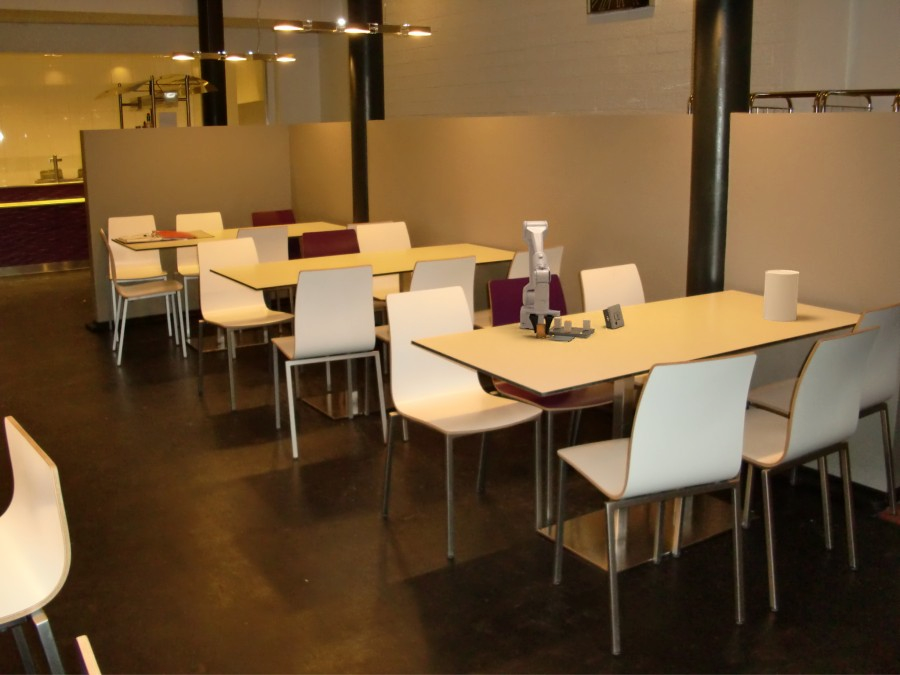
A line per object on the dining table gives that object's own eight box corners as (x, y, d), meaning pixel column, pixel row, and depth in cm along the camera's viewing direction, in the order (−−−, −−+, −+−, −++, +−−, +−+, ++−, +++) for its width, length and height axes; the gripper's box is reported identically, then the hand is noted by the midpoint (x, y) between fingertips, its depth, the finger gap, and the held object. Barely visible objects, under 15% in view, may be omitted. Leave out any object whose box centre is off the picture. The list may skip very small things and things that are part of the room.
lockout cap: (535, 337, 361) (535, 325, 360) (537, 335, 365) (537, 323, 363) (545, 338, 360) (545, 325, 359) (547, 335, 364) (547, 323, 363)
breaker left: (554, 327, 371) (554, 318, 370) (555, 326, 373) (555, 317, 372) (560, 328, 370) (560, 318, 369) (561, 327, 372) (561, 317, 371)
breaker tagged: (564, 331, 363) (564, 321, 362) (565, 330, 365) (565, 320, 364) (570, 332, 362) (570, 321, 361) (571, 331, 364) (571, 320, 363)
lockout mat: (549, 340, 355) (549, 339, 355) (555, 336, 362) (555, 335, 362) (569, 342, 352) (569, 341, 352) (575, 337, 359) (575, 336, 359)
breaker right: (582, 329, 366) (583, 319, 365) (584, 328, 368) (584, 319, 367) (588, 330, 365) (589, 320, 364) (590, 329, 367) (590, 319, 366)
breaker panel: (545, 335, 365) (545, 330, 364) (554, 329, 375) (554, 324, 375) (586, 338, 358) (586, 333, 358) (594, 332, 369) (594, 327, 368)
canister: (793, 322, 381) (796, 275, 377) (759, 320, 387) (762, 273, 383) (798, 317, 392) (801, 270, 388) (766, 314, 399) (768, 268, 395)
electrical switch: (613, 329, 373) (612, 307, 372) (602, 329, 377) (601, 307, 375) (624, 325, 381) (623, 303, 379) (613, 325, 384) (612, 303, 382)
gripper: (520, 300, 358) (520, 333, 361) (556, 302, 353) (556, 336, 355) (526, 297, 365) (526, 330, 367) (561, 299, 359) (561, 332, 362)
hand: (541, 333), depth 362 cm, fingers closed on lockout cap, 4 cm apart
